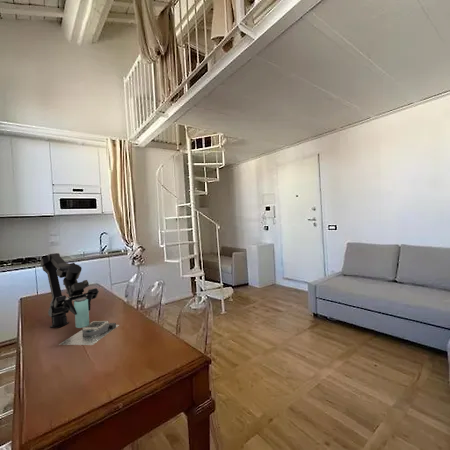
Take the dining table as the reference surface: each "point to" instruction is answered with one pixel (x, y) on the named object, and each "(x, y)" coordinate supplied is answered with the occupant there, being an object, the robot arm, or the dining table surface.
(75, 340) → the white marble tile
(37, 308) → the dining table surface
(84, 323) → the bottle
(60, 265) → the robot arm
